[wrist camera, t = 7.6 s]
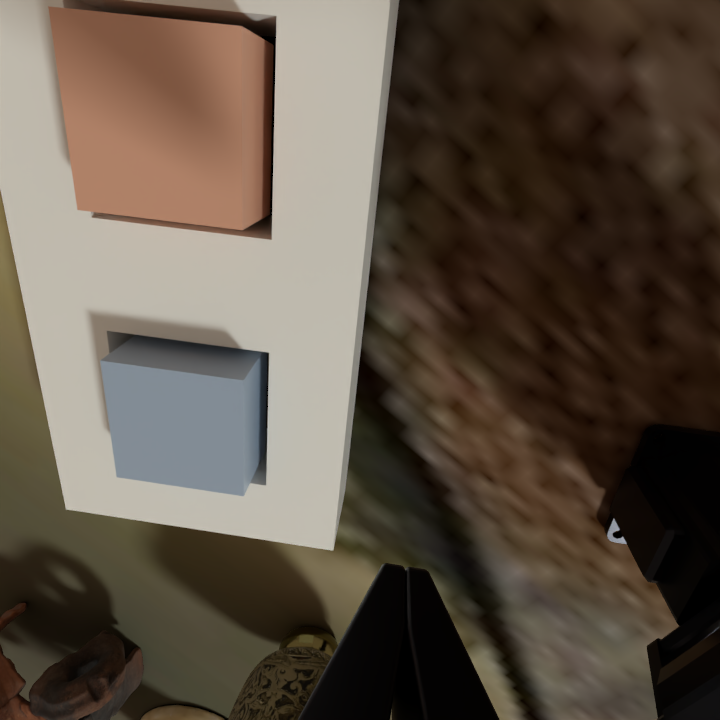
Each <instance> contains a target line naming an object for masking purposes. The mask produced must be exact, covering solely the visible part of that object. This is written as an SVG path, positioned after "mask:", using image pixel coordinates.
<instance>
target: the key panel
mask: <svg viewBox="0 0 720 720" xmlns="http://www.w3.org/2000/svg"><path fill="white" fill-rule="evenodd" d="M48 6H49V7H59V8H69V9H79V10H89V11H99V12H108V13H118V14H128V15H138V16H148V17H158V18H167V19H177V20H187V21H197V22H207V23H217V24H226V25H236V26H242V27H244V28H246V29H248V30H249V31H251V32H253V33H254V34H256V35H260V36H269V37H276V64H275V109H274V155H273V200H272V216H266V217H265V218H263V219H261V220H259V221H258V222H256V223H254V224H252V225H251V226H249V227H247V228H246V229H244V230H236V229H228V228H220V227H212V226H204V225H195V224H187V223H179V222H171V221H163V220H155V219H147V218H139V217H130V216H122V215H114V214H106V213H98V212H90V211H82V210H77V204H76V197H75V190H74V183H73V176H72V169H71V162H70V155H69V148H68V141H67V134H66V127H65V120H64V113H63V106H62V99H61V92H60V85H59V78H58V71H57V64H56V57H55V50H54V43H53V36H52V29H51V22H50V15H49V8H48ZM398 6H399V0H0V190H1V195H2V199H3V204H4V209H5V214H6V219H7V224H8V229H9V234H10V238H11V243H12V248H13V253H14V258H15V263H16V268H17V273H18V277H19V282H20V287H21V292H22V297H23V302H24V307H25V312H26V316H27V321H28V326H29V331H30V336H31V341H32V346H33V350H34V355H35V360H36V365H37V370H38V375H39V380H40V385H41V389H42V394H43V399H44V404H45V409H46V414H47V419H48V424H49V428H50V433H51V438H52V443H53V448H54V453H55V458H56V463H57V467H58V472H59V477H60V482H61V487H62V492H63V497H64V502H65V506H66V509H68V510H75V511H81V512H87V513H94V514H100V515H107V516H113V517H120V518H126V519H133V520H139V521H145V522H152V523H158V524H165V525H171V526H178V527H184V528H191V529H197V530H203V531H210V532H216V533H223V534H229V535H236V536H242V537H249V538H255V539H261V540H268V541H274V542H281V543H287V544H294V545H300V546H307V547H313V548H319V549H326V550H332V551H333V549H334V544H335V539H336V534H337V529H338V524H339V519H340V514H341V509H342V504H343V499H344V493H345V487H346V478H347V469H348V460H349V451H350V442H351V433H352V424H353V415H354V406H355V397H356V388H357V379H358V369H359V360H360V351H361V342H362V333H363V324H364V315H365V306H366V297H367V288H368V279H369V270H370V260H371V251H372V242H373V233H374V224H375V215H376V206H377V197H378V188H379V179H380V170H381V161H382V151H383V142H384V133H385V124H386V115H387V106H388V97H389V88H390V79H391V70H392V61H393V52H394V42H395V33H396V24H397V15H398ZM134 335H142V336H150V337H157V338H164V339H172V340H179V341H187V342H194V343H201V344H209V345H216V346H223V347H231V348H238V349H246V350H253V351H260V352H268V353H269V382H268V428H266V450H265V452H264V455H263V457H262V459H261V461H260V463H259V465H258V467H257V469H256V472H255V474H254V476H253V478H252V480H251V482H250V484H249V486H248V489H247V491H246V493H245V495H244V496H238V495H231V494H225V493H218V492H211V491H205V490H198V489H192V488H185V487H178V486H172V485H165V484H158V483H152V482H145V481H139V480H132V479H125V478H119V477H117V476H116V469H115V462H114V455H113V448H112V441H111V434H110V427H109V420H108V413H107V406H106V399H105V392H104V385H103V378H102V371H101V364H100V360H102V359H103V358H104V357H106V356H107V355H108V354H110V353H111V352H113V351H114V350H115V349H117V348H118V347H119V346H121V345H122V344H123V343H125V342H126V341H128V340H129V339H130V338H132V337H133V336H134Z"/></svg>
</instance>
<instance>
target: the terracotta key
mask: <svg viewBox="0 0 720 720" xmlns="http://www.w3.org/2000/svg"><path fill="white" fill-rule="evenodd" d="M48 8H49V15H50V22H51V29H52V36H53V43H54V50H55V57H56V64H57V71H58V78H59V85H60V92H61V99H62V106H63V113H64V120H65V127H66V134H67V141H68V148H69V155H70V162H71V169H72V176H73V183H74V190H75V197H76V204H77V210H82V211H90V212H98V213H106V214H114V215H122V216H130V217H139V218H147V219H155V220H163V221H171V222H179V223H187V224H195V225H204V226H212V227H220V228H228V229H236V230H244V229H246V228H247V227H249V226H251V225H252V224H254V223H256V222H258V221H259V220H261V219H263V218H265V217H266V216H268V215H270V190H271V140H272V90H273V44H271V43H269V42H268V41H266V40H264V39H263V38H261V37H259V36H258V35H256V34H254V33H253V32H251V31H249V30H248V29H246V28H244V27H242V26H236V25H226V24H217V23H207V22H197V21H187V20H177V19H167V18H158V17H148V16H138V15H128V14H118V13H108V12H99V11H89V10H79V9H69V8H59V7H49V6H48Z"/></svg>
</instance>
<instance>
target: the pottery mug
mask: <svg viewBox="0 0 720 720" xmlns="http://www.w3.org/2000/svg"><path fill="white" fill-rule="evenodd" d="M26 607H27V604H26V603H20V604H17V605H16V606H15V607H14V608H12V609H10V610H8V611H6V612H5V613H4V614H3V615H2V616H1V617H0V631H1V630H2V629H3V628H4V627H5V626H6V625H7V624H8V623H9V622H11V621H12V620H13V619H14V618H16V617H17V616H19V615H20V614H22V613H23V612H24V611H25V610H26ZM143 670H144V666H143V657H142V652H141V649H140V648H138V647H136V648H135V649H133V650H132V652H131V653H130V655H129V656H128V657H127V659H125V652H124V645H123V642H122V641H121V640H120V639H119V638H118V637H116V636H115V635H113V634H111V633H110V632H107V631H105V630H103V631H101V632H100V633H99V634H98V635H97V636H96V637H94V638H92V639H91V640H90V641H89V642H88V643H87V644H86V645H85V646H83V647H82V648H81V649H80V650H78V651H77V652H75V653H72V654H70V655H68V656H67V657H65V658H64V659H63V660H62V661H60V662H58V663H55V664H53V665H52V666H50V667H49V668H48V669H47V670H46V671H45V672H44V673H43V674H42V676H41V677H40V678H39V679H38V680H37V681H36V682H35V683H34V684H33V686H32V688H31V689H30V692H29V699H30V702H29V701H27V700H26V699H24V698H23V697H22V696H20V695H19V693H20V692H21V691H22V689H23V688H24V686H25V685H26V681H25V680H24V679H23V678H22V677H21V676H20V674H18V673H17V671H16V669H15V666H14V664H13V662H12V661H11V660H10V659H8V658H6V657H5V656H4V655H3V651H2V647H1V645H0V720H110V718H111V717H112V716H114V715H116V714H117V712H118V711H119V708H121V707H122V705H123V704H124V703H125V701H126V700H127V698H128V697H129V696H130V695H131V693H132V692H133V691H134V690H135V689H136V688H137V687H138V686H139V684H140V683H141V679H142V676H143Z"/></svg>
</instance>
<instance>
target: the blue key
mask: <svg viewBox="0 0 720 720" xmlns="http://www.w3.org/2000/svg"><path fill="white" fill-rule="evenodd" d="M267 357H268V352H260V351H253V350H246V349H238V348H231V347H223V346H216V345H209V344H201V343H194V342H187V341H179V340H172V339H164V338H157V337H150V336H142V335H134V336H133V337H132V338H130V339H129V340H128V341H126V342H125V343H123V344H122V345H121V346H119V347H118V348H117V349H115V350H114V351H113V352H111V353H110V354H108V355H107V356H106V357H104V358H103V359H102V360H100V364H101V371H102V378H103V385H104V392H105V399H106V406H107V413H108V420H109V427H110V434H111V441H112V448H113V455H114V462H115V469H116V476H117V477H119V478H125V479H132V480H139V481H145V482H152V483H158V484H165V485H172V486H178V487H185V488H192V489H198V490H205V491H211V492H218V493H225V494H231V495H238V496H244V495H245V493H246V491H247V489H248V486H249V484H250V482H251V480H252V478H253V476H254V474H255V472H256V469H257V467H258V465H259V463H260V461H261V459H262V457H263V455H264V452H265V450H266V406H267Z"/></svg>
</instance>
